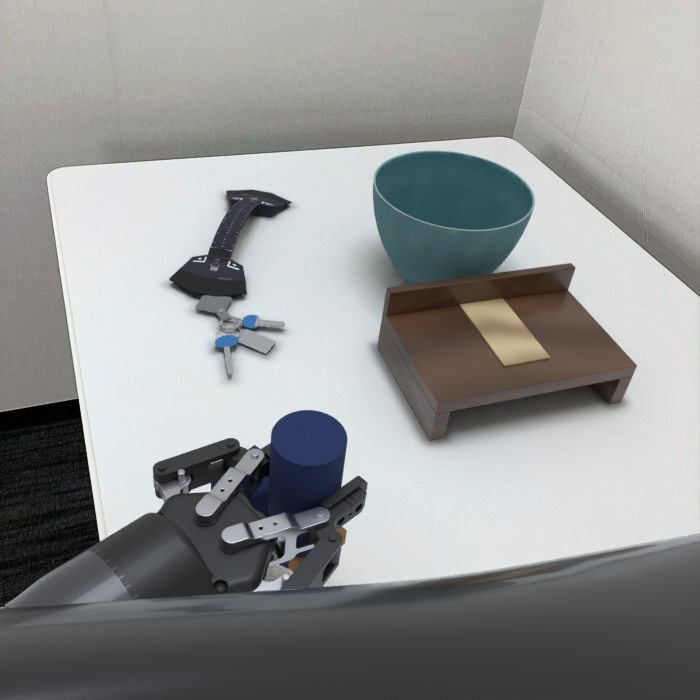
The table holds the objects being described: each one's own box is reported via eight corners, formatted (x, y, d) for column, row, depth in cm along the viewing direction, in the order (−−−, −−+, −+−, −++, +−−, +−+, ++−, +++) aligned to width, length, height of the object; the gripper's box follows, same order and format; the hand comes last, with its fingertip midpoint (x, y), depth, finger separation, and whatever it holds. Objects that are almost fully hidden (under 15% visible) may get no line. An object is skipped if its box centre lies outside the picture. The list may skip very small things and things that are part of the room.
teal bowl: (403, 335, 85) (421, 240, 77) (338, 247, 97) (347, 157, 89) (538, 306, 92) (567, 216, 84) (461, 227, 104) (480, 142, 96)
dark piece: (294, 200, 105) (295, 178, 103) (242, 305, 86) (243, 280, 84) (229, 189, 106) (229, 166, 104) (164, 290, 87) (162, 265, 84)
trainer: (347, 541, 56) (363, 437, 49) (301, 583, 53) (311, 478, 46) (256, 471, 60) (258, 365, 53) (209, 506, 57) (205, 399, 50)
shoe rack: (621, 401, 80) (648, 342, 75) (429, 440, 73) (444, 378, 68) (551, 319, 90) (571, 262, 85) (376, 347, 83) (386, 287, 78)
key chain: (189, 298, 86) (189, 292, 86) (259, 285, 89) (259, 279, 89) (227, 378, 77) (227, 372, 76) (304, 361, 80) (305, 355, 79)
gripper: (187, 670, 37) (421, 490, 47) (39, 491, 44) (268, 367, 54) (193, 739, 42) (404, 562, 52) (58, 567, 49) (266, 441, 59)
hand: (333, 463), depth 53 cm, fingers closed on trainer, 5 cm apart
